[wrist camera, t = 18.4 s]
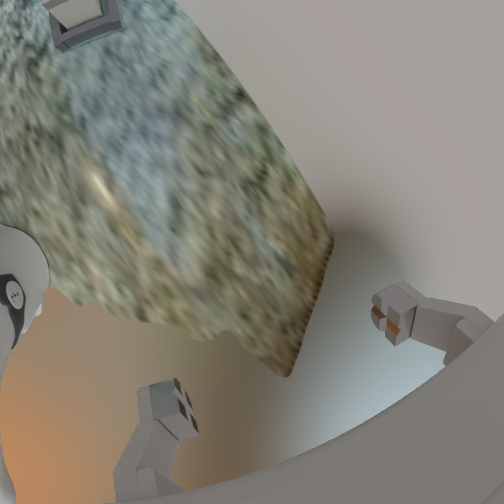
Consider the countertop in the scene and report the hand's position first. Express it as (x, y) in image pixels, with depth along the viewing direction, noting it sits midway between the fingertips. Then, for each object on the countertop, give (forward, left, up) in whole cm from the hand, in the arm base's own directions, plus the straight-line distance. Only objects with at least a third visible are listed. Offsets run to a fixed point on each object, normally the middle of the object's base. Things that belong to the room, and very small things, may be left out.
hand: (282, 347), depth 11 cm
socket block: (-7, +27, -35) cm, 45 cm away
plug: (-7, +26, -34) cm, 44 cm away
